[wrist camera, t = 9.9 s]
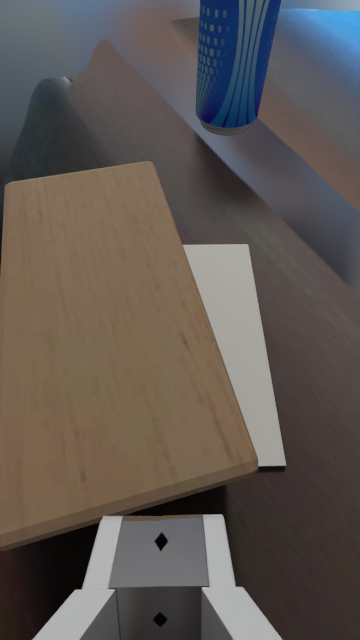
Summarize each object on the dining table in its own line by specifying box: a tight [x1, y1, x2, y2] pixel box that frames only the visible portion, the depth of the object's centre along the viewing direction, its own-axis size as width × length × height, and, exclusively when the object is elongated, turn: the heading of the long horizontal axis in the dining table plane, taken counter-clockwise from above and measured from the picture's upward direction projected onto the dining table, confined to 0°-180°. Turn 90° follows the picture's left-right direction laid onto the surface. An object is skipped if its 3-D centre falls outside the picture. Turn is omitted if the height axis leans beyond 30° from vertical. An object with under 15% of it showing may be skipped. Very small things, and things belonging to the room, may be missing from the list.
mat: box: [183, 244, 286, 466], centre depth 25 cm, size 20×15×1 cm
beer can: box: [196, 0, 281, 135], centre depth 35 cm, size 8×8×16 cm
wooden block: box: [0, 161, 258, 551], centre depth 20 cm, size 10×10×20 cm
